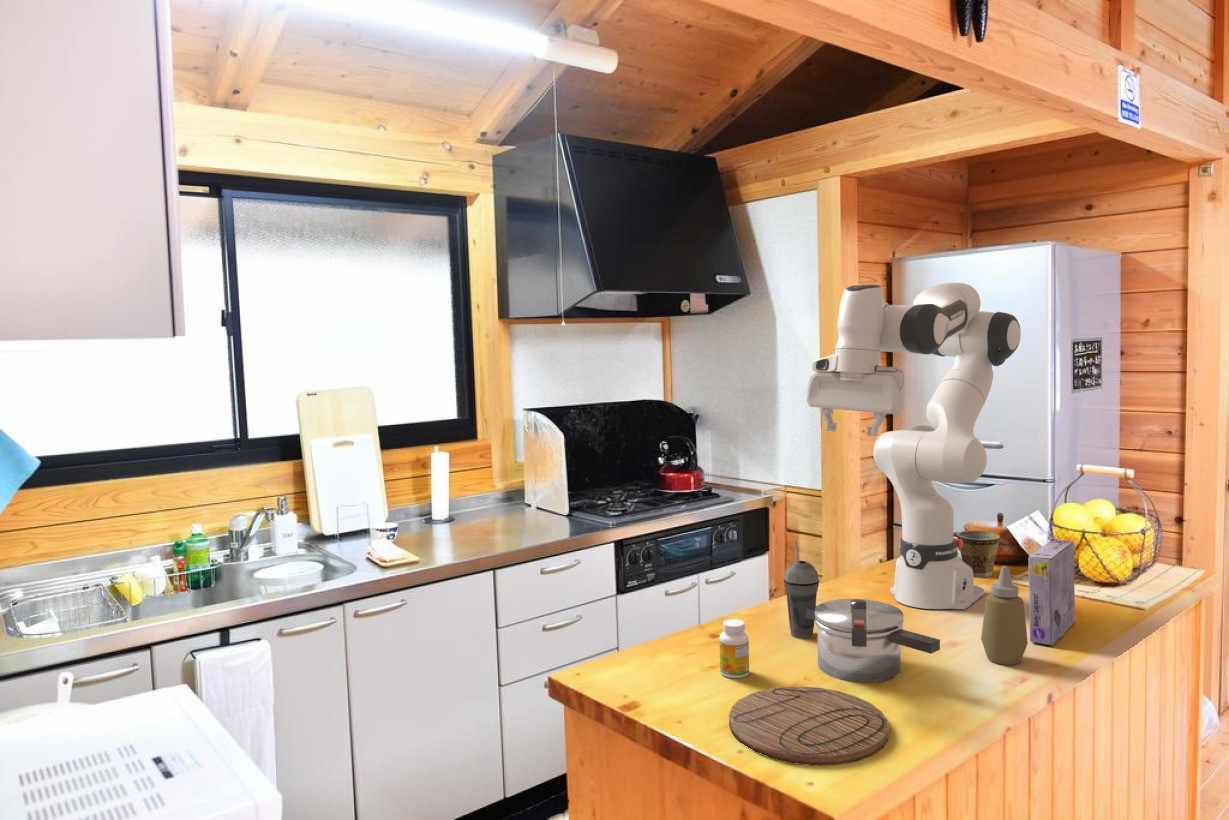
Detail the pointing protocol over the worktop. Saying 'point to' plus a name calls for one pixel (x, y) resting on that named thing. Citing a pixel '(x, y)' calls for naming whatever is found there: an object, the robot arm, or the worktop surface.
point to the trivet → (809, 725)
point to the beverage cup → (801, 595)
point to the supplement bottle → (734, 649)
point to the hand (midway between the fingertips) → (851, 433)
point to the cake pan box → (1051, 591)
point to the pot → (866, 652)
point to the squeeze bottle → (1004, 622)
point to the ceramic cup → (979, 550)
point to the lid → (859, 617)
